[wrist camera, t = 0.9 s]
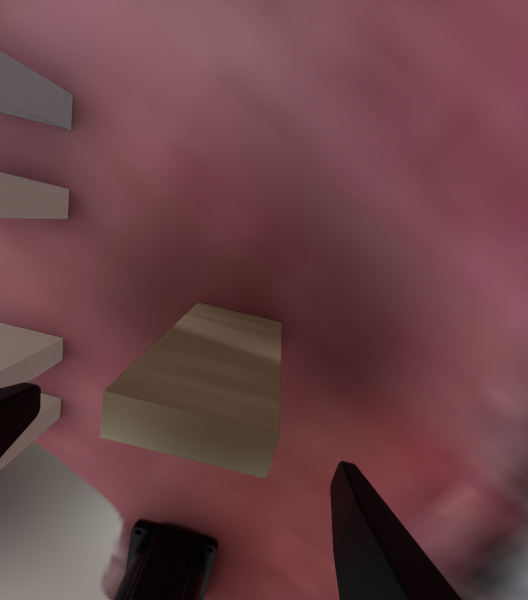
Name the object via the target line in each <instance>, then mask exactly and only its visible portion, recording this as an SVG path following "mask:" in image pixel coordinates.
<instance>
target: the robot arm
mask: <svg viewBox="0 0 528 600" xmlns="http://www.w3.org/2000/svg"><path fill="white" fill-rule="evenodd" d="M40 404H41V388H40V387H39V386H38V385H36V384H31V383H27V382H23V383H19V384H15V385H11V386H7V387H4V388H0V458H1V457H2V456H3V455H4V453H5V452H6V451H7V450H8V449H9V448H10V447H11V446H12V444H13V443H14V442H15V441H16V440H17V439H18V438H19V436H20V435H21V434H22V433H23V432H24V431H25V430H26V429H27V427H28V426H29V425H30V424H31V423H32V422H33V421H34V420H35V418H36V417H37V416H38V414H39V412H40ZM330 492H331V513H332V534H333V551H334V560H335V568H336V575H337V583H338V590H339V597H340V600H462V599H461V598H460V597H459V596H458V594H457V593H456V592H455V590H454V589H453V588H452V587H451V585H450V584H449V583H448V582H447V580H446V579H445V578H444V577H443V575H442V574H441V573H440V571H439V570H438V569H437V568H436V566H435V565H434V564H433V563H432V561H431V560H430V559H429V557H428V556H427V555H426V554H425V552H424V551H423V550H422V549H421V547H420V546H419V545H418V544H417V542H416V541H415V540H414V538H413V537H412V536H411V535H410V533H409V532H408V531H407V530H406V528H405V527H404V526H403V525H402V523H401V522H400V521H399V519H398V518H397V517H396V516H395V514H394V513H393V512H392V511H391V509H390V508H389V507H388V505H387V504H386V503H385V502H384V500H383V499H382V498H381V497H380V495H379V494H378V493H377V492H376V490H375V489H374V488H373V486H372V485H371V484H370V483H369V481H368V480H367V479H366V478H365V476H364V475H363V474H362V473H361V471H360V470H359V469H358V467H357V466H356V465H355V464H353V463H349V462H345V461H341V462H340V463H339V464H338V466H337V469H336V472H335V474H334V477H333V479H332V482H331V489H330ZM217 547H218V544H217V542H216V541H214V540H212V539H208V538H204V537H200V536H196V535H192V534H188V533H184V532H180V531H176V530H172V529H168V528H163V527H159V526H155V525H151V524H147V523H143V522H137V523H135V525H134V527H133V529H132V533H131V539H130V546H129V553H128V560H127V567H126V573H125V575H124V577H123V579H122V581H121V584H120V586H119V588H118V590H117V593H116V595H115V597H114V599H113V600H204V596H205V593H206V589H207V585H208V581H209V578H210V574H211V570H212V567H213V563H214V559H215V555H216V552H217Z"/></svg>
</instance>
